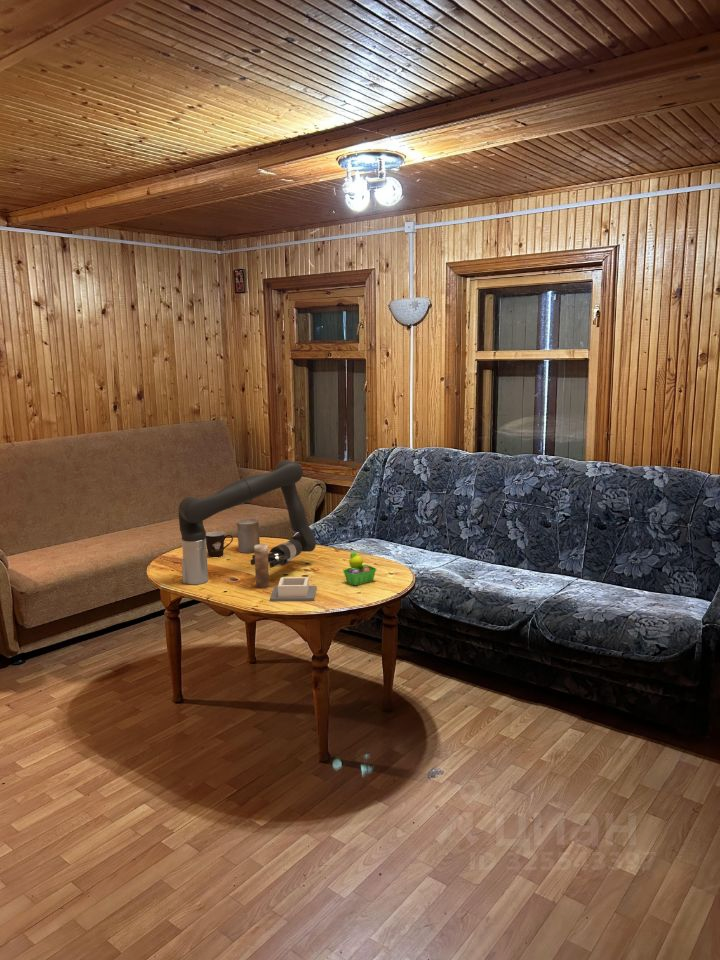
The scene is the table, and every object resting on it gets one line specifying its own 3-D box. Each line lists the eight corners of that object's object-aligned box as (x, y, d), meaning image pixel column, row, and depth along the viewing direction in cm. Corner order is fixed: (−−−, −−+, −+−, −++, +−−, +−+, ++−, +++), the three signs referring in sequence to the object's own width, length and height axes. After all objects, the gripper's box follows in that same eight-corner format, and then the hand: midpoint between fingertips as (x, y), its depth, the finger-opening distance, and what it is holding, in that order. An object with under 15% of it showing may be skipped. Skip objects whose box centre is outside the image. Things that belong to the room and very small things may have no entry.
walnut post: (255, 588, 278) (253, 547, 275) (256, 584, 282) (255, 544, 280) (268, 588, 278) (266, 547, 275) (269, 584, 282) (268, 544, 280)
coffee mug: (203, 558, 318) (202, 536, 317) (208, 553, 327) (207, 531, 325) (230, 558, 318) (229, 536, 316) (234, 552, 327) (233, 531, 325)
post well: (269, 601, 263) (269, 587, 262) (274, 588, 277) (274, 576, 276) (314, 600, 263) (313, 587, 262) (316, 588, 277) (316, 575, 276)
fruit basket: (353, 587, 278) (353, 558, 276) (340, 581, 285) (340, 553, 283) (377, 581, 284) (377, 553, 282) (364, 576, 292) (363, 548, 290)
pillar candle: (262, 547, 335) (260, 515, 332) (257, 553, 325) (255, 520, 322) (241, 547, 336) (239, 515, 333) (235, 553, 326) (234, 520, 323)
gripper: (267, 542, 295) (244, 552, 280) (298, 545, 289) (276, 556, 274) (268, 560, 296) (245, 571, 282) (298, 564, 290) (277, 575, 276)
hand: (261, 563), depth 278 cm, fingers open, 8 cm apart
